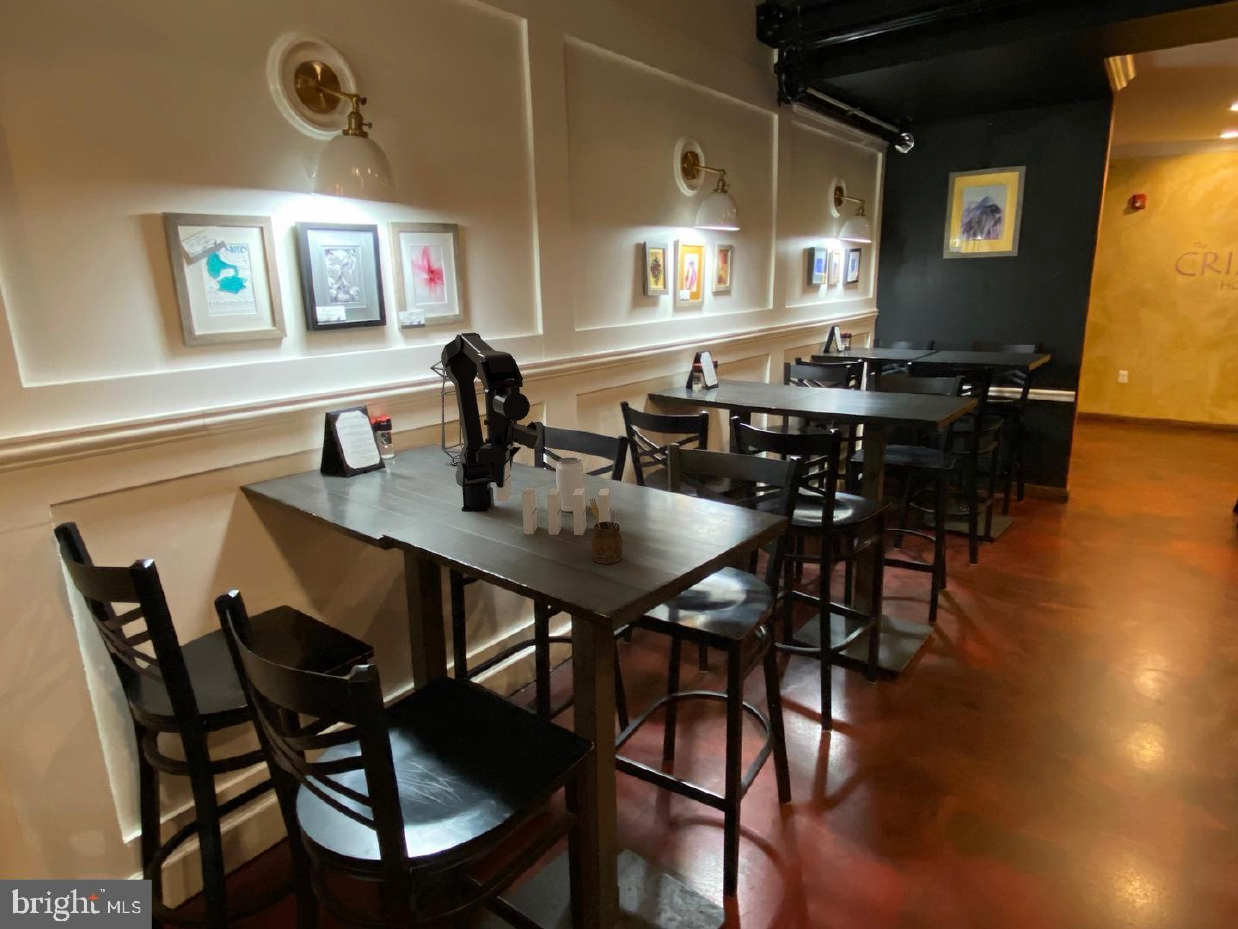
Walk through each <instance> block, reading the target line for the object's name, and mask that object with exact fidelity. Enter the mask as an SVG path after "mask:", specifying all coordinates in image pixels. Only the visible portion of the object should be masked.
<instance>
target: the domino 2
mask: <svg viewBox="0 0 1238 929" xmlns="http://www.w3.org/2000/svg"><path fill="white" fill-rule="evenodd" d="M536 490H537V488H536V487H526V488H525V489H524V491H523V493H521V501H522V503H521V504H522V519H523V520H522V522H523V534H524V535H534V533H535V531H536V530H537V529H538V510H537V509H538V508H537V491H536Z"/></svg>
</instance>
